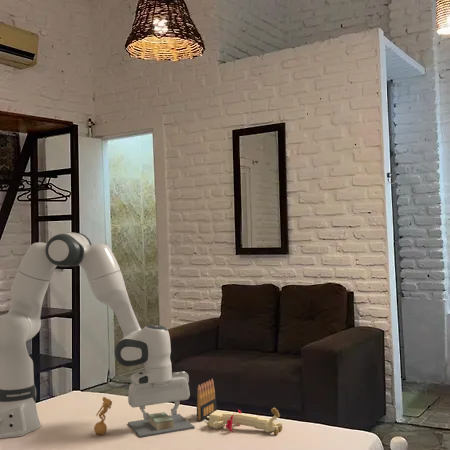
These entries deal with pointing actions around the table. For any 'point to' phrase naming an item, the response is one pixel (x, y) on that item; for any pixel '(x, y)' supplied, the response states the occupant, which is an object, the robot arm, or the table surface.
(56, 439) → the table surface
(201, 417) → the ammunition clip
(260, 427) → the cat figure
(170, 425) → the pale green streaked tile
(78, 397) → the table surface
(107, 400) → the figurine
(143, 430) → the rubber mat
